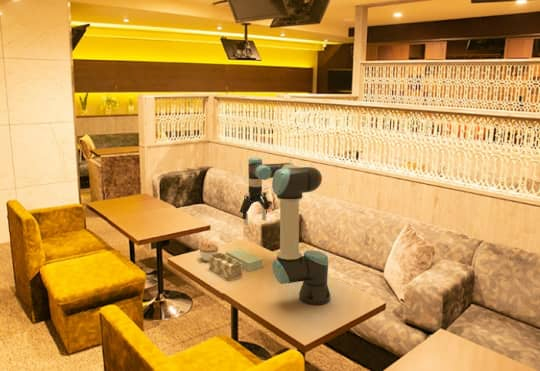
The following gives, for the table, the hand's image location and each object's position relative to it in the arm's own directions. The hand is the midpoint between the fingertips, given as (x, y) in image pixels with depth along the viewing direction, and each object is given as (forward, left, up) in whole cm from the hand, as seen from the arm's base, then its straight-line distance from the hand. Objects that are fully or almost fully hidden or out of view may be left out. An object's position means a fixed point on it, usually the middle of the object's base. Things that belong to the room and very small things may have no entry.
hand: (255, 222), depth 261 cm
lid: (+1, +6, -25) cm, 25 cm away
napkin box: (-9, +19, -25) cm, 33 cm away
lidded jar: (+12, +24, -25) cm, 37 cm away
